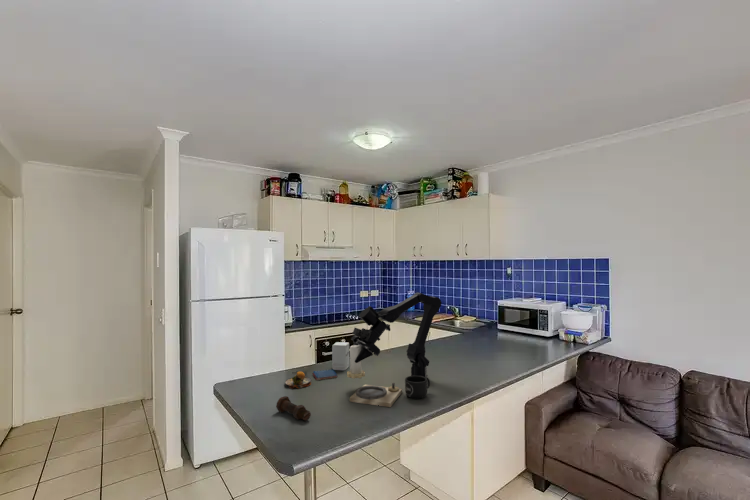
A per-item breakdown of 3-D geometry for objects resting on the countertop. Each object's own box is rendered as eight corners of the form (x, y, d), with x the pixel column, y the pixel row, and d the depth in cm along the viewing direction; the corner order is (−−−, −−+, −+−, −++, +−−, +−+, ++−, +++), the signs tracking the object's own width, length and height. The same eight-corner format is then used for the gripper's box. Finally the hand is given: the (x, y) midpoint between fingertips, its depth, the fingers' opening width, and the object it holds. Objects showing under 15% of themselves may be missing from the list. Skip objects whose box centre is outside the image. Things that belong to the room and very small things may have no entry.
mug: (415, 402, 141) (415, 384, 141) (400, 395, 149) (400, 378, 149) (437, 395, 148) (437, 377, 148) (422, 389, 156) (421, 372, 156)
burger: (297, 378, 172) (297, 363, 172) (316, 382, 166) (316, 366, 166) (279, 386, 162) (278, 369, 162) (298, 391, 156) (298, 373, 156)
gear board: (402, 392, 152) (401, 382, 152) (390, 407, 137) (390, 395, 137) (364, 387, 158) (364, 377, 158) (349, 401, 143) (349, 390, 143)
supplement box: (345, 370, 183) (345, 345, 183) (331, 369, 184) (331, 345, 185) (349, 366, 190) (349, 342, 190) (336, 365, 192) (336, 341, 192)
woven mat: (311, 375, 178) (311, 370, 178) (332, 372, 182) (332, 368, 182) (315, 381, 168) (315, 377, 168) (338, 378, 172) (338, 374, 172)
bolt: (305, 427, 125) (280, 414, 135) (315, 416, 128) (290, 404, 138) (299, 416, 123) (273, 403, 133) (309, 404, 126) (284, 392, 136)
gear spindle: (367, 373, 159) (366, 344, 159) (362, 379, 151) (361, 349, 152) (350, 372, 161) (349, 344, 161) (344, 378, 153) (344, 348, 153)
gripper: (354, 317, 167) (332, 344, 161) (373, 323, 150) (349, 354, 145) (370, 332, 170) (348, 359, 165) (389, 340, 153) (367, 370, 148)
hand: (352, 360), depth 155 cm, fingers closed on gear spindle, 5 cm apart
